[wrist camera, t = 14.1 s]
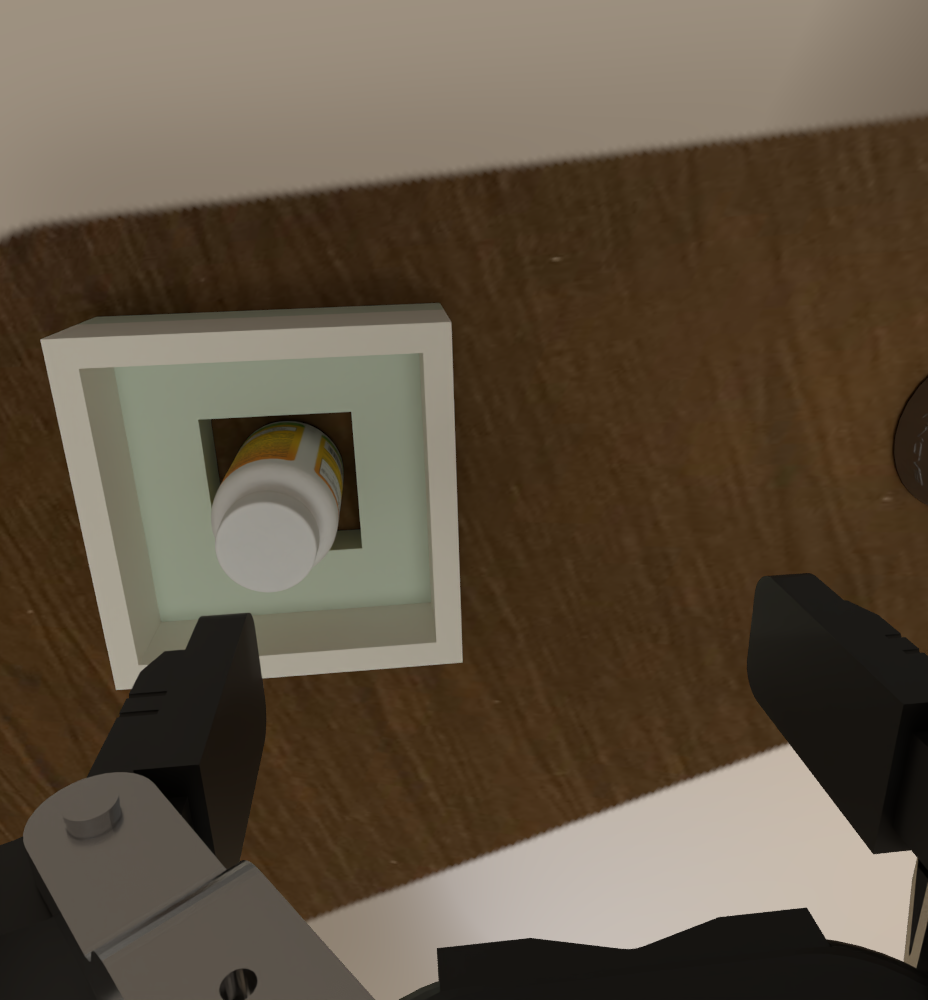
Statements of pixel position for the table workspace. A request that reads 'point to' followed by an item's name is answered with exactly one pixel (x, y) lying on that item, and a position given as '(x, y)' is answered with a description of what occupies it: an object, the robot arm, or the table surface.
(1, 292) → the table surface
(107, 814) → the robot arm
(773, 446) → the table surface
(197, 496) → the bore box
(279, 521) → the supplement bottle
